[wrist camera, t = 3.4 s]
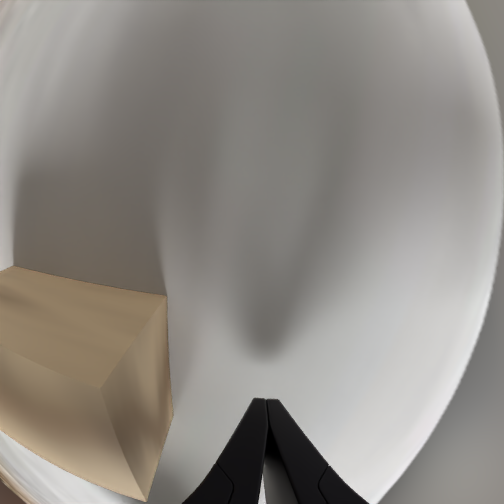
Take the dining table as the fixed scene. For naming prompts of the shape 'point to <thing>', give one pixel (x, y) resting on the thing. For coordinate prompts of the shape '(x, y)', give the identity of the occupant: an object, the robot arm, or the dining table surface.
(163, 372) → the oak block
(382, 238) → the dining table surface
